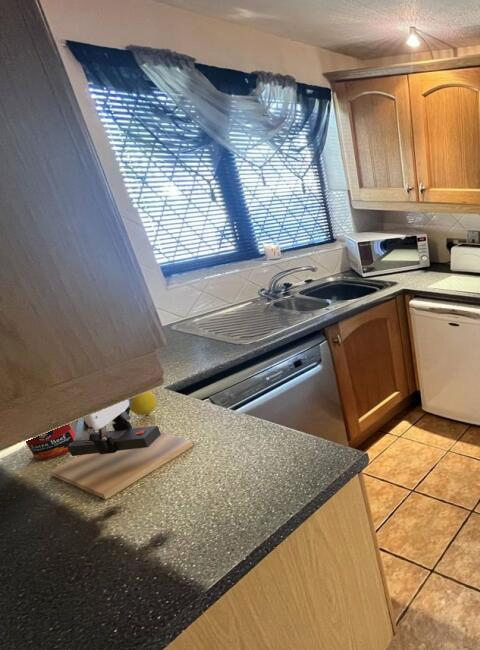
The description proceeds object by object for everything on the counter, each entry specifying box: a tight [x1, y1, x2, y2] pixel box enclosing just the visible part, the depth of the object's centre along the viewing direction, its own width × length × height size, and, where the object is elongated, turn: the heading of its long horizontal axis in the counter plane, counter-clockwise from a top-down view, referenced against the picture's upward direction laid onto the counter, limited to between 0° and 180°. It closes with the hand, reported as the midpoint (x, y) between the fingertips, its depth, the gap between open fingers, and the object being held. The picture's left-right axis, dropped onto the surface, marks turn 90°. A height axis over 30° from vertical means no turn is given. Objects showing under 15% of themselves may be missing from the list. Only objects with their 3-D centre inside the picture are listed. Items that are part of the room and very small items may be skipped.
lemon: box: [130, 390, 158, 416], centre depth 105 cm, size 6×6×8 cm
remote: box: [67, 425, 161, 457], centre depth 88 cm, size 15×5×3 cm, turn 100°
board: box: [49, 424, 194, 500], centre depth 90 cm, size 20×17×2 cm
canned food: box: [25, 424, 75, 460], centre depth 92 cm, size 8×8×11 cm
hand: (117, 443), depth 88 cm, fingers closed on remote, 4 cm apart
